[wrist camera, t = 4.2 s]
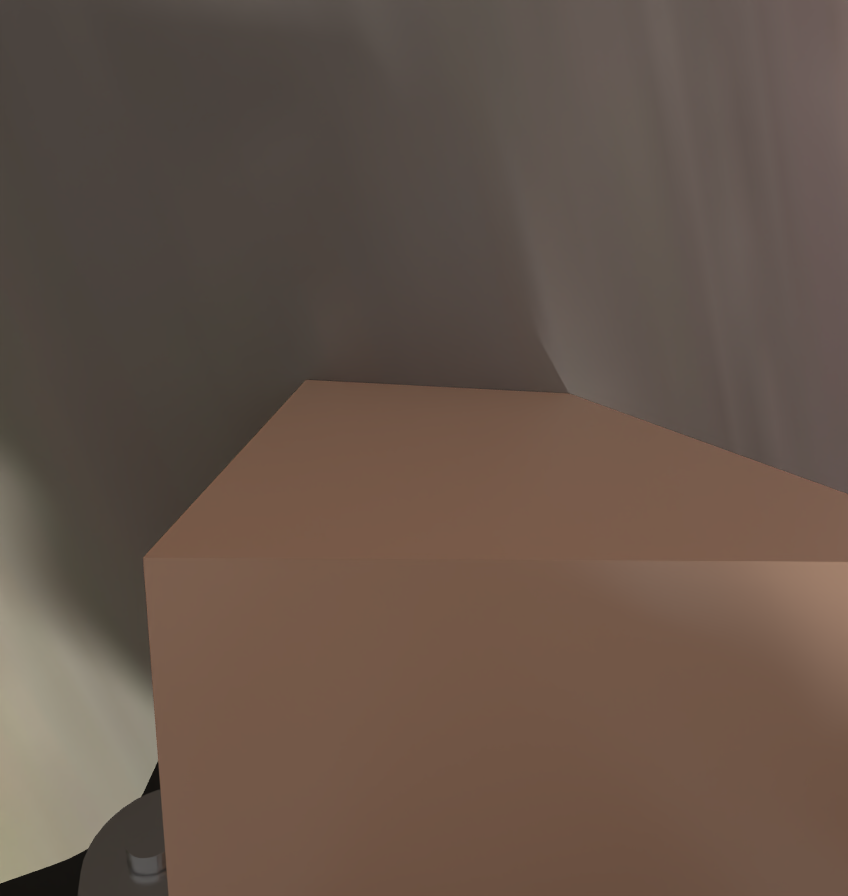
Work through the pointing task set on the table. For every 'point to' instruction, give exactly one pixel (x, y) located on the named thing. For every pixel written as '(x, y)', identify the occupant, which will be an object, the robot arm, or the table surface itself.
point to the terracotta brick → (499, 658)
